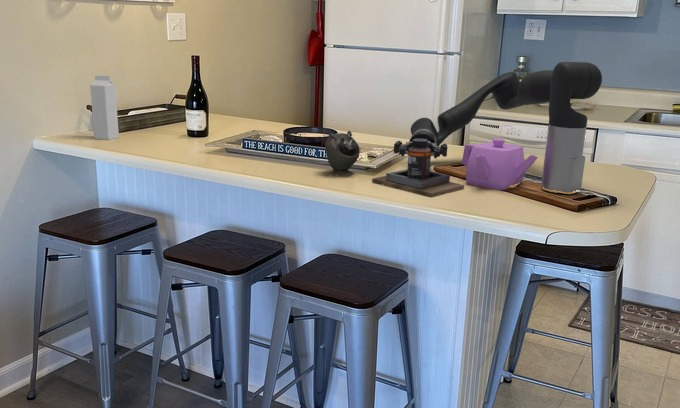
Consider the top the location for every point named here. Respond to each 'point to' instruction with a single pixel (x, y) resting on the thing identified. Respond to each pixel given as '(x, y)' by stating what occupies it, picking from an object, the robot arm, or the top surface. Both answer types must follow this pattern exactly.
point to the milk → (104, 108)
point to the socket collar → (402, 179)
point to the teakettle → (495, 164)
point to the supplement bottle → (419, 160)
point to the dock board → (427, 192)
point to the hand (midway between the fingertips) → (419, 153)
